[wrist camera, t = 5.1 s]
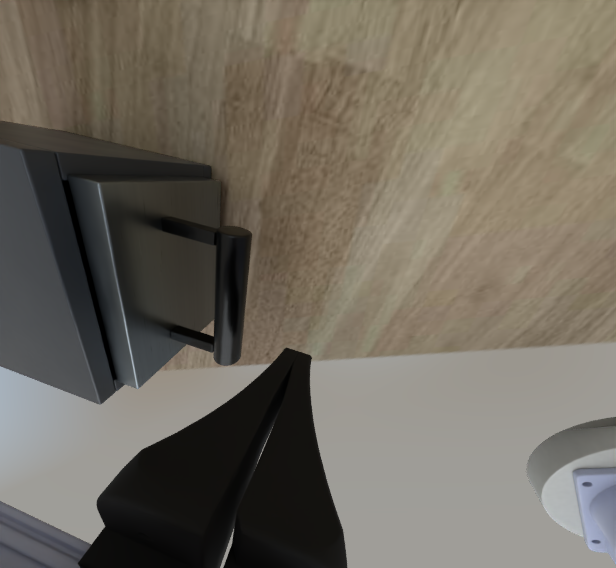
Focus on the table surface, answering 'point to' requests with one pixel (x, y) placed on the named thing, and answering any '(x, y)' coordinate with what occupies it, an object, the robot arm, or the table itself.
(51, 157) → the cabinet
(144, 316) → the drawer
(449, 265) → the table surface
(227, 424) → the robot arm
